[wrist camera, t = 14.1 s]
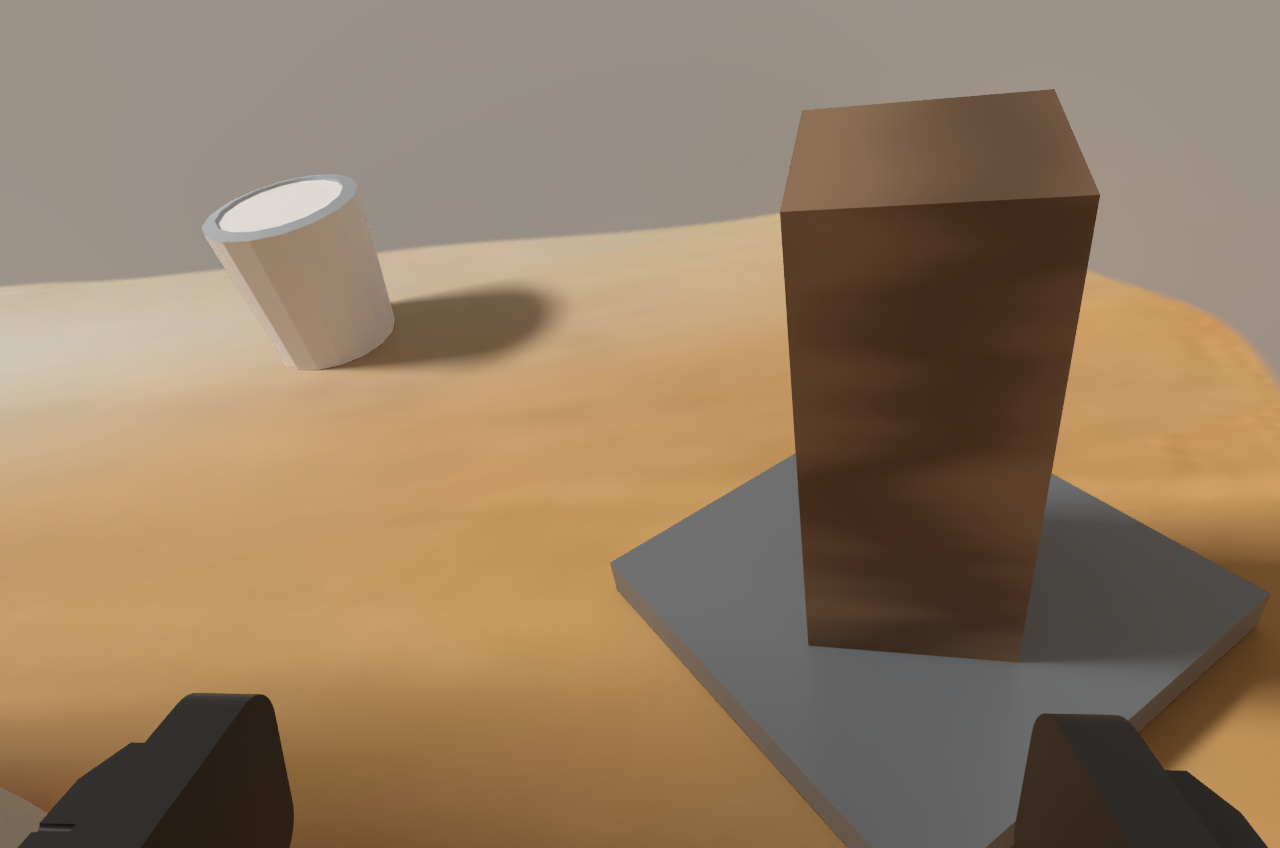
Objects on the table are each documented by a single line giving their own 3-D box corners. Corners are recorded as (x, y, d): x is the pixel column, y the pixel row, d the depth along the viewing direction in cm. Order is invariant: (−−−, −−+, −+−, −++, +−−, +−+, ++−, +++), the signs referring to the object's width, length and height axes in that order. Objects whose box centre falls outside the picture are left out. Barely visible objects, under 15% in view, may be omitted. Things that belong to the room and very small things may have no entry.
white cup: (302, 396, 38) (232, 254, 34) (246, 347, 43) (179, 216, 39) (433, 326, 41) (383, 189, 37) (368, 288, 46) (318, 161, 42)
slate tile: (617, 589, 26) (610, 562, 26) (900, 418, 30) (901, 391, 30) (921, 929, 18) (923, 903, 17) (1256, 625, 22) (1270, 593, 21)
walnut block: (807, 645, 22) (780, 212, 15) (820, 509, 26) (801, 110, 19) (1018, 662, 21) (1099, 194, 14) (998, 516, 25) (1053, 89, 17)
